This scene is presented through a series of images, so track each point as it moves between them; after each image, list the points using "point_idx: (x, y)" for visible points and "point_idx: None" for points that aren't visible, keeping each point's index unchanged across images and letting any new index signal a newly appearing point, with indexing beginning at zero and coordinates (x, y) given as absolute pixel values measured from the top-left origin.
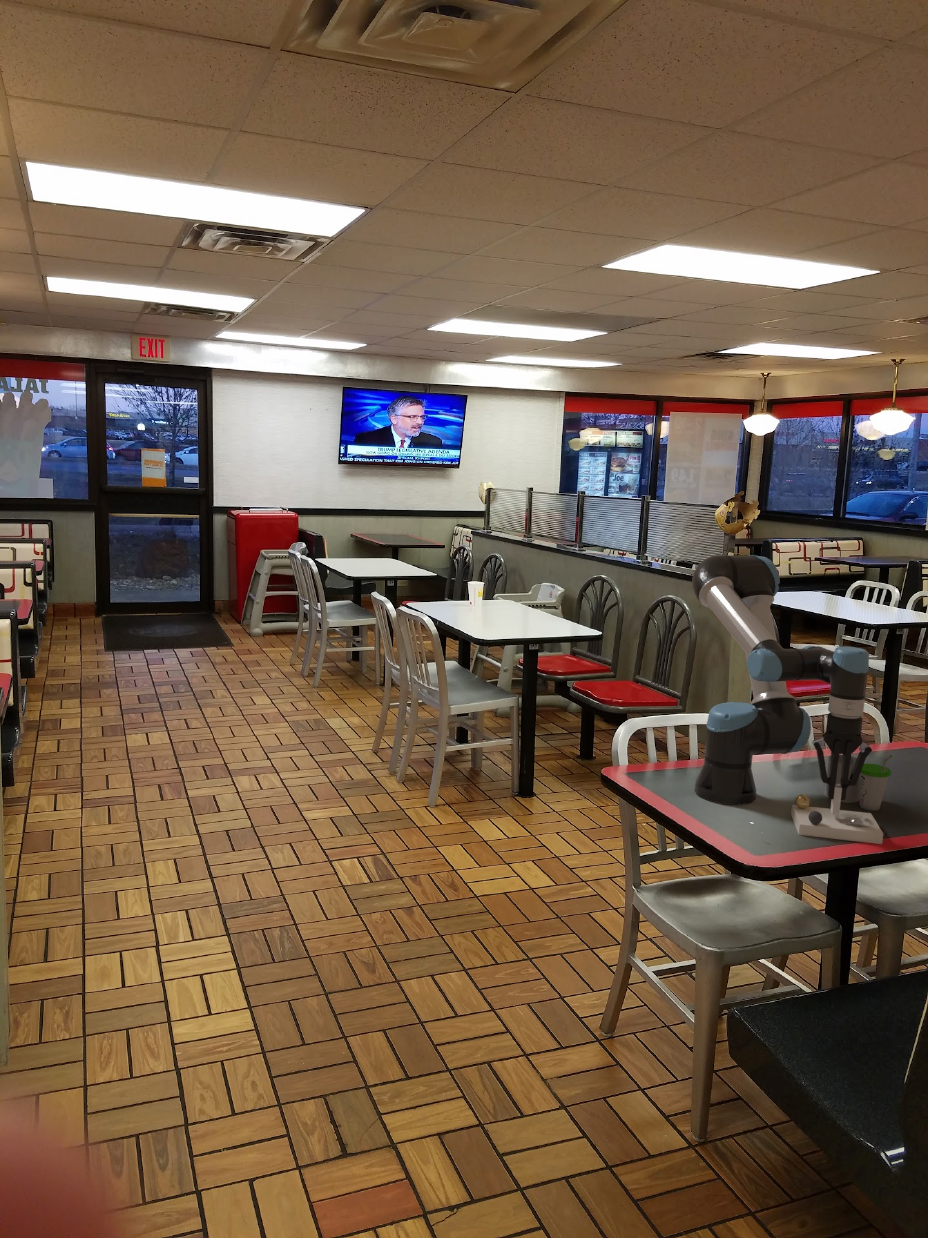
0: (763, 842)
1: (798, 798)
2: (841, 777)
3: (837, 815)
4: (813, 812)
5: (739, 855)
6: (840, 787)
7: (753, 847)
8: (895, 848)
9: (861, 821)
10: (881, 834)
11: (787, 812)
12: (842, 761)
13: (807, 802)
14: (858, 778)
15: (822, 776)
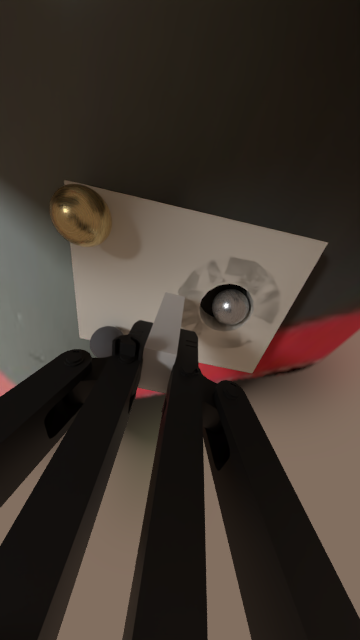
0: (29, 355)
1: (57, 229)
2: (165, 410)
3: (195, 275)
4: (94, 354)
5: (3, 391)
6: (162, 387)
7: (17, 371)
8: (261, 370)
9: (240, 321)
10: (248, 371)
11: (74, 158)
12: (142, 563)
13: (96, 244)
14: None
15: (49, 415)
